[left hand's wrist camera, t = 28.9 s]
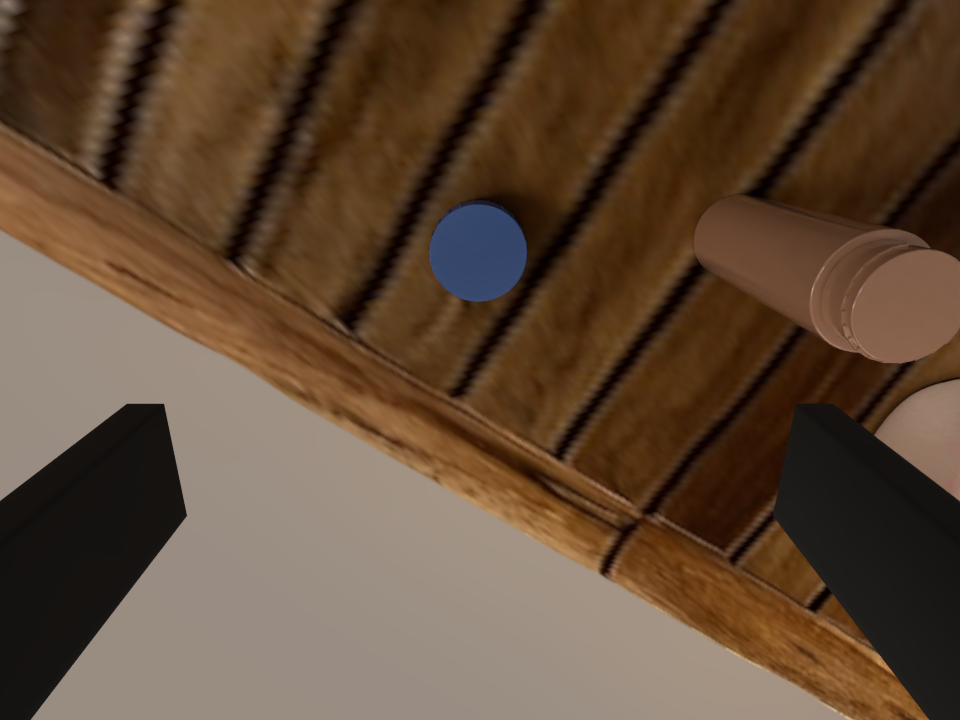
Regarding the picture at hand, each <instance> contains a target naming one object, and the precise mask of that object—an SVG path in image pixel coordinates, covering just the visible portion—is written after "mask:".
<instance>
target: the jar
mask: <svg viewBox="0 0 960 720" xmlns="http://www.w3.org/2000/svg"><path fill="white" fill-rule="evenodd" d="M694 250H695V254H696V257H697V259H698V261H699V262H700V263H701V265H702V266H703V267H704V268H705V269H706V270H708V271H709V272H711V273H712V274H714V275H716V276H717V277H719V278H721V279H722V280H724V281H726V282H727V283H729V284H731V285H732V286H734V287H736V288H737V289H739V290H741V291H742V292H744V293H746V294H747V295H749V296H751V297H752V298H754V299H756V300H757V301H759V302H761V303H762V304H764V305H765V306H767V307H769V308H770V309H772V310H774V311H775V312H777V313H779V314H780V315H782V316H784V317H785V318H787V319H789V320H790V321H792V322H794V323H795V324H797V325H799V326H800V327H802V328H804V329H805V330H807V331H809V332H810V333H812V334H814V335H815V336H817V337H819V338H820V339H822V340H824V341H825V342H827V343H829V344H830V345H832V346H834V347H836V348H838V349H841V350H844V351H849V352H859V353H861V354H862V355H864V356H865V357H867V358H869V359H872V360H876V361H879V362H883V363H903V362H907V361H913V360H918V359H920V358H922V357H924V356H927V355H929V354H931V353H934V352H935V351H936V350H938V349H939V348H940V347H942V346H943V345H944V344H945V343H946V344H947V343H948V342H949V341H950V340H951V339H952V338H953V336H954V335H955V334H956V333H957V332H958V330H959V328H960V262H959V261H958V260H957V259H956V258H955V257H953V256H951V255H950V254H947V253H945V252H942V251H939V250H935V249H931V248H930V247H929V246H928V244H927V243H926V242H925V241H923V240H922V239H921V238H920V237H918V236H916V235H915V234H912V233H910V232H907V231H904V230H899V229H895V228H891V227H886V226H882V225H878V224H873V223H869V222H865V221H860V220H856V219H851V218H847V217H843V216H838V215H834V214H830V213H825V212H821V211H816V210H812V209H808V208H803V207H799V206H795V205H790V204H786V203H781V202H777V201H773V200H768V199H764V198H760V197H755V196H751V195H745V194H737V195H731V196H728V197H725V198H723V199H720V200H719V201H717V202H715V203H714V204H713V205H711V206H710V207H709V208H708V209H707V210H706V211H705V213H704V214H703V215H702V217H701V218H700V220H699V222H698V224H697V226H696V229H695V233H694Z"/></svg>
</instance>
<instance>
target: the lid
mask: <svg viewBox="0 0 960 720" xmlns="http://www.w3.org/2000/svg"><path fill="white" fill-rule="evenodd" d="M437 224H438V225H437V227H436V229H435V231H433V233H432V235H431V237H432V240H431V244H430V248H429V251H430V264H431V266H432V269H433V272H434V274H435V276H436V278H437V279H438V281H439V282H440V283H441V285H442V286H443V287H444V288H445V289H446V290H448V291H449V292H450V293H452V294H453V295H455V296H457V297H459V298H461V299H465V300H469V301H479V302H480V301H488V300H492V299H495V298H498V297H500V296H502V295H504V294H505V293H507V292H508V291H509V290H510V289H512V288H513V287H514V286H515V284H516V283H517V282H518V280H519V279H520V277H521V276H522V273H523V271H524V269H525V265H526V260H527V257H528V254H527V245H526V243H527V240H526V238H525V236H524V234H523V232H522V227H521V224H518V222H517V220H516V219H515V217H514V215H513V213H512V212H511V213H510V212H509V211H508V210H506V209H505V208H503V207H502V205H501V204H500V205H498V204H496V203H493V202H490V201H489V200H487V201H485V200H475V199H474V200H472V201H467V202H464V203H462V202H460V204H459V205H457V206H455V207H453V208H452V209H451V210H450V209H448V212H447V213H446V214H445V215H444V216H443V217H442V219H439V221H438V223H437Z"/></svg>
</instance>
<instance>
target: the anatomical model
mask: <svg viewBox="0 0 960 720" xmlns="http://www.w3.org/2000/svg"><path fill="white" fill-rule="evenodd" d="M874 436H876V437H877V438H878V439H880V440H881V441H882V442H883V443H885V444H886V445H887V446H889V447H890V448H891V449H893V450H894V451H895V452H896V453H898V454H899V455H900V456H902V457H903V458H904V459H906V460H907V461H908V462H910V463H911V464H912V465H913V466H915V467H916V468H917V469H919V470H920V471H921V472H923V473H924V474H925V475H927V476H928V477H929V478H930V479H932V480H933V481H934V482H936V483H937V484H938V485H940V486H941V487H942V488H943V489H945V490H946V491H947V492H949V493H950V494H951V495H953V496H954V497H955V498H957V499H958V500H959V501H960V379H957V380H952V381H948V382H943V383H939V384H936V385H933V386H930V387H927V388H924V389H922V390H920V391H918V392H916V393H914V394H913V395H911V396H910V397H908V398H907V399H906V400H904V401H903V402H902V403H901V404H899V405H898V406H897V407H896V408H895V409H894V410H893V411H892V413H891V414H890V415H889V416H888V417H887V418H886V419H885V421H884V422H883V423H882V425H881V426H880V427H879V429H878V430H877V432H876V433H875V435H874Z"/></svg>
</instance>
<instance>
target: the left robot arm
mask: <svg viewBox="0 0 960 720" xmlns="http://www.w3.org/2000/svg"><path fill="white" fill-rule="evenodd" d="M186 516H187V514H186V509H185V504H184V499H183V494H182V489H181V484H180V480H179V475H178V470H177V465H176V460H175V455H174V451H173V446H172V441H171V436H170V431H169V426H168V421H167V417H166V412H165V407H164V404H126V405H125V406H124V407H122V408H121V409H120V410H118V411H117V412H116V413H114V414H113V415H112V416H111V417H109V418H108V419H107V420H105V421H104V422H103V423H101V424H100V425H99V426H98V427H96V428H95V429H94V430H92V431H91V432H90V433H88V434H87V435H86V436H84V437H83V438H82V439H81V440H79V441H78V442H77V443H75V444H74V445H73V446H71V447H70V448H69V449H68V450H66V451H65V452H64V453H62V454H61V455H60V456H58V457H57V458H56V459H54V460H53V461H52V462H50V463H49V464H48V465H47V466H45V467H44V468H43V469H41V470H40V471H39V472H37V473H36V474H35V475H34V476H32V477H31V478H30V479H28V480H27V481H26V482H24V483H23V484H22V485H20V486H19V487H18V488H17V489H15V490H14V491H13V492H11V493H10V494H9V495H7V496H6V497H5V498H3V499H2V500H1V501H0V720H31V719H32V717H33V716H34V715H35V713H36V712H37V711H38V709H39V708H40V707H41V705H42V704H43V703H44V702H45V700H46V699H47V698H48V696H49V695H50V694H51V692H52V691H53V690H54V689H55V687H56V686H57V685H58V683H59V682H60V681H61V679H62V678H63V677H64V676H65V674H66V673H67V672H68V670H69V669H70V668H71V666H72V665H73V664H74V662H75V661H76V660H77V659H78V657H79V656H80V655H81V653H82V652H83V651H84V649H85V648H86V647H87V645H88V644H89V643H90V642H91V640H92V639H93V638H94V636H95V635H96V634H97V632H98V631H99V630H100V629H101V627H102V626H103V625H104V623H105V622H106V621H107V619H108V618H109V617H110V616H111V614H112V613H113V612H114V610H115V609H116V608H117V606H118V605H119V604H120V602H121V601H122V600H123V598H124V597H125V596H126V595H127V593H128V592H129V591H130V589H131V588H132V587H133V585H134V584H135V583H136V582H137V580H138V579H139V578H140V576H141V575H142V574H143V572H144V571H145V570H146V569H147V567H148V566H149V565H150V563H151V562H152V561H153V559H154V558H155V557H156V556H157V554H158V553H159V552H160V550H161V549H162V548H163V546H164V545H165V544H166V542H167V541H168V540H169V539H170V537H171V536H172V535H173V533H174V532H175V531H176V529H177V528H178V527H179V526H180V524H181V523H182V522H183V520H184V519H185V518H186ZM773 516H774V518H775V519H776V520H777V522H778V523H779V524H780V526H781V527H782V528H783V529H784V531H785V532H786V533H787V535H788V536H789V537H790V539H791V540H792V541H793V542H794V544H795V545H796V546H797V548H798V549H799V550H800V552H801V553H802V554H803V556H804V557H805V558H806V559H807V561H808V562H809V563H810V565H811V566H812V567H813V569H814V570H815V571H816V572H817V574H818V575H819V576H820V578H821V579H822V580H823V582H824V583H825V584H826V586H827V587H828V588H829V589H830V591H831V592H832V593H833V595H834V596H835V597H836V599H837V600H838V601H839V602H840V604H841V605H842V606H843V608H844V609H845V610H846V612H847V613H848V614H849V616H850V617H851V618H852V619H853V621H854V622H855V623H856V625H857V626H858V627H859V629H860V630H861V631H862V632H863V634H864V635H865V636H866V638H867V639H868V640H869V642H870V643H871V644H872V646H873V647H874V648H875V649H876V651H877V652H878V653H879V655H880V656H881V657H882V659H883V660H884V661H885V662H886V664H887V665H888V666H889V668H890V669H891V670H892V672H893V673H894V674H895V676H896V677H897V678H898V679H899V681H900V682H901V683H902V685H903V686H904V687H905V689H906V690H907V691H908V692H909V694H910V695H911V696H912V698H913V699H914V700H915V702H916V703H917V704H918V706H919V707H920V708H921V709H922V711H923V712H924V713H925V715H926V716H927V717H928V719H929V720H960V501H959V500H958V499H957V498H955V497H954V496H953V495H951V494H950V493H949V492H947V491H946V490H945V489H943V488H942V487H941V486H940V485H938V484H937V483H936V482H934V481H933V480H932V479H930V478H929V477H928V476H927V475H925V474H924V473H923V472H921V471H920V470H919V469H917V468H916V467H915V466H913V465H912V464H911V463H910V462H908V461H907V460H906V459H904V458H903V457H902V456H900V455H899V454H898V453H896V452H895V451H894V450H893V449H891V448H890V447H889V446H887V445H886V444H885V443H883V442H882V441H881V440H880V439H878V438H877V437H876V436H874V435H873V434H872V433H870V432H869V431H868V430H866V429H865V428H864V427H863V426H861V425H860V424H859V423H857V422H856V421H855V420H853V419H852V418H851V417H849V416H848V415H847V414H846V413H844V412H843V411H842V410H840V409H839V408H838V407H836V406H835V405H834V404H796V407H795V412H794V416H793V421H792V426H791V431H790V436H789V441H788V446H787V450H786V455H785V460H784V465H783V470H782V475H781V480H780V484H779V489H778V494H777V499H776V504H775V509H774V514H773Z"/></svg>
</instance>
